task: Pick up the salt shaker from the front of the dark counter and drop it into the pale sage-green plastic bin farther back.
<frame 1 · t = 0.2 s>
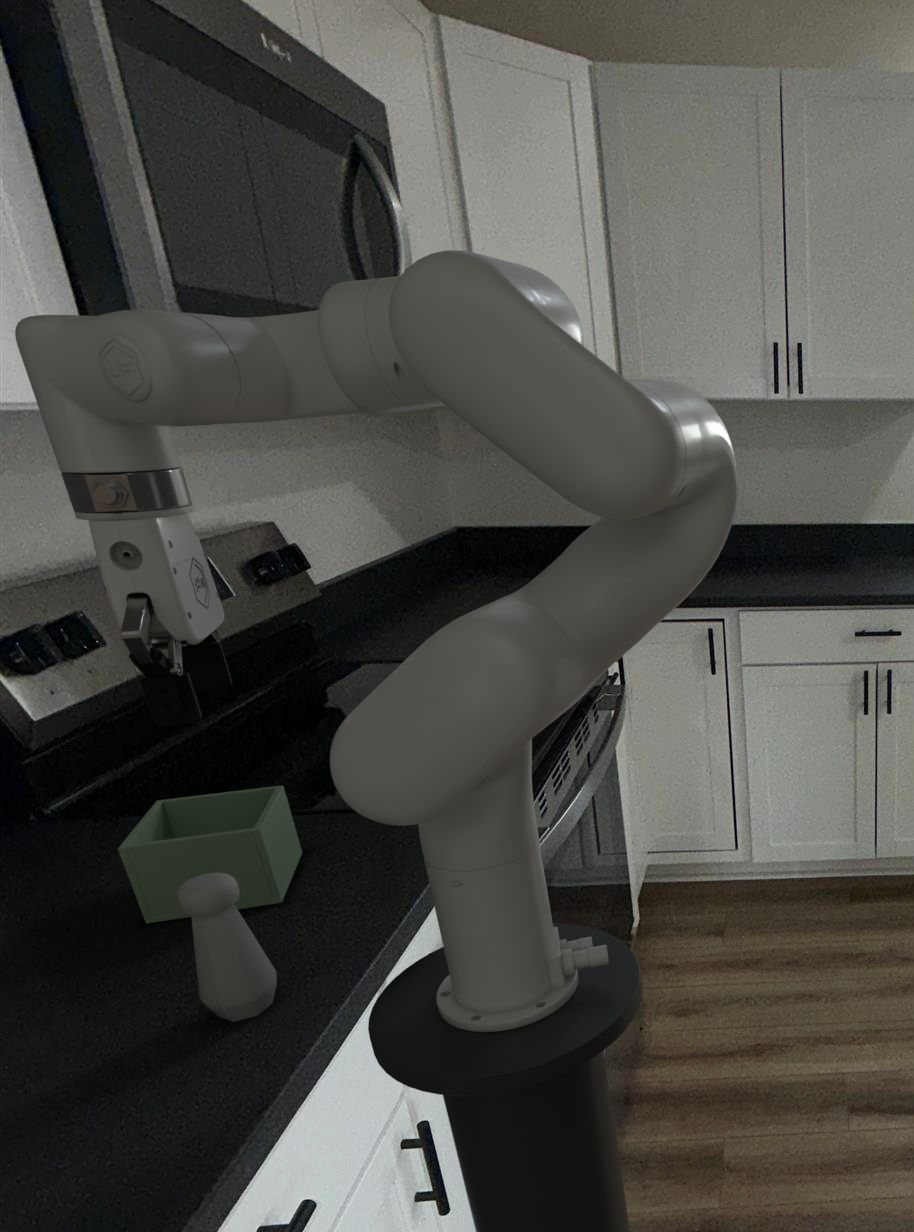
hand: (196, 705, 79), 26 cm above the counter, tool pointing down, fingers open, 9 cm apart
bin: (229, 885, 102), on the counter
salt shaker: (247, 1008, 83), on the counter
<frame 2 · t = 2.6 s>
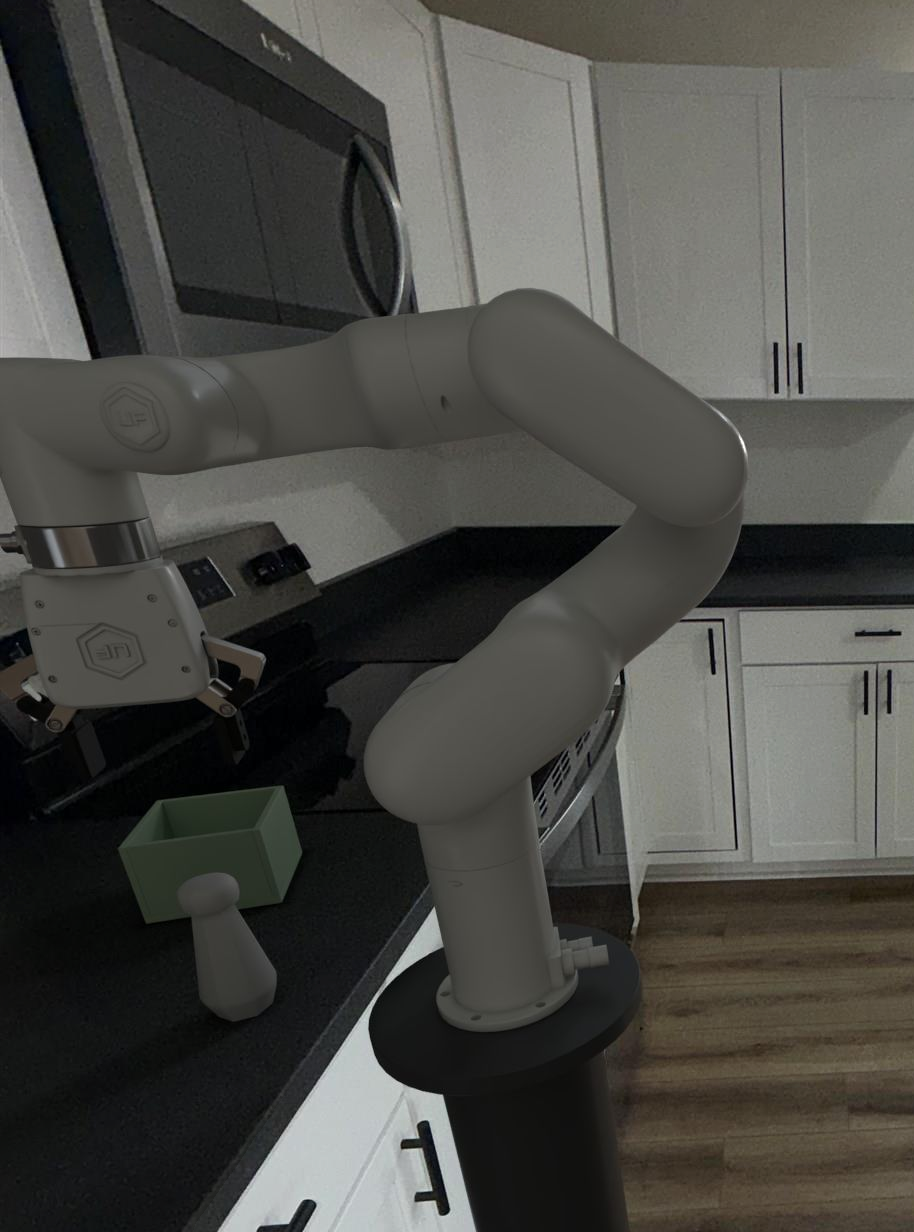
hand: (166, 766, 74), 23 cm above the counter, tool pointing down, fingers open, 9 cm apart
nothing on the counter moved.
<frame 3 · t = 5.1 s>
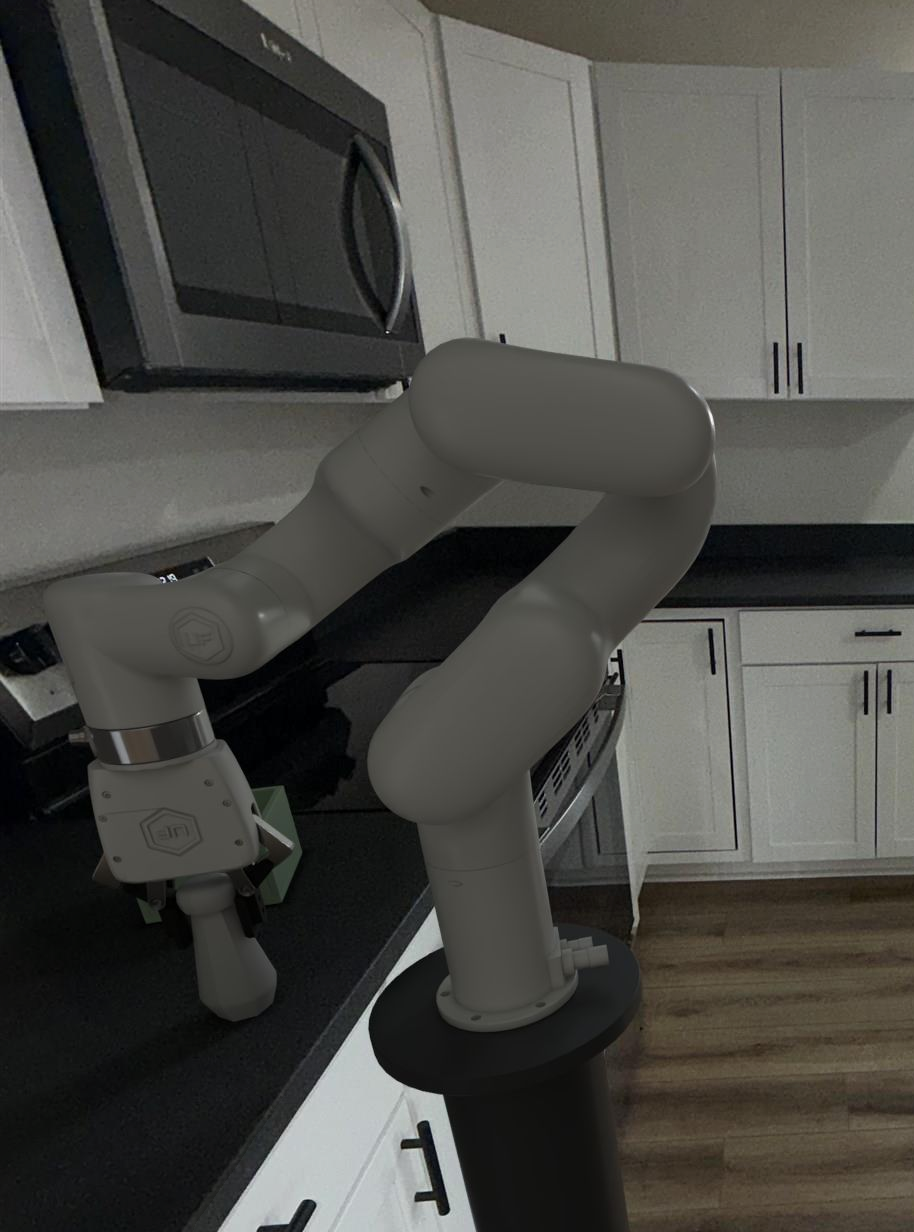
hand: (221, 933, 79), 8 cm above the counter, tool pointing down, fingers closed on salt shaker, 4 cm apart
salt shaker: (247, 1008, 83), on the counter, touching gripper
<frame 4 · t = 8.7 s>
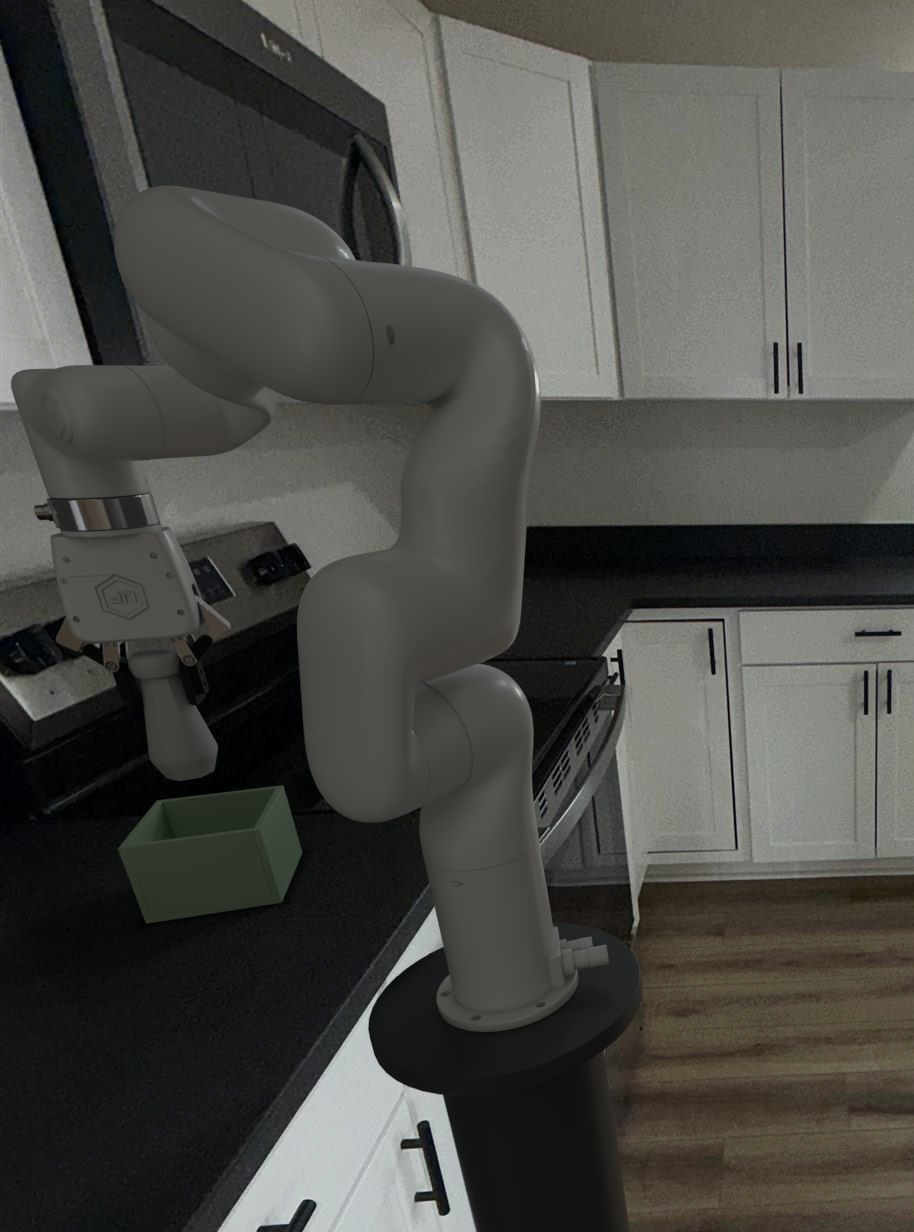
hand: (168, 702, 93), 22 cm above the counter, tool pointing down, fingers closed on salt shaker, 4 cm apart
salt shaker: (191, 774, 96), point 14 cm above the counter, touching gripper
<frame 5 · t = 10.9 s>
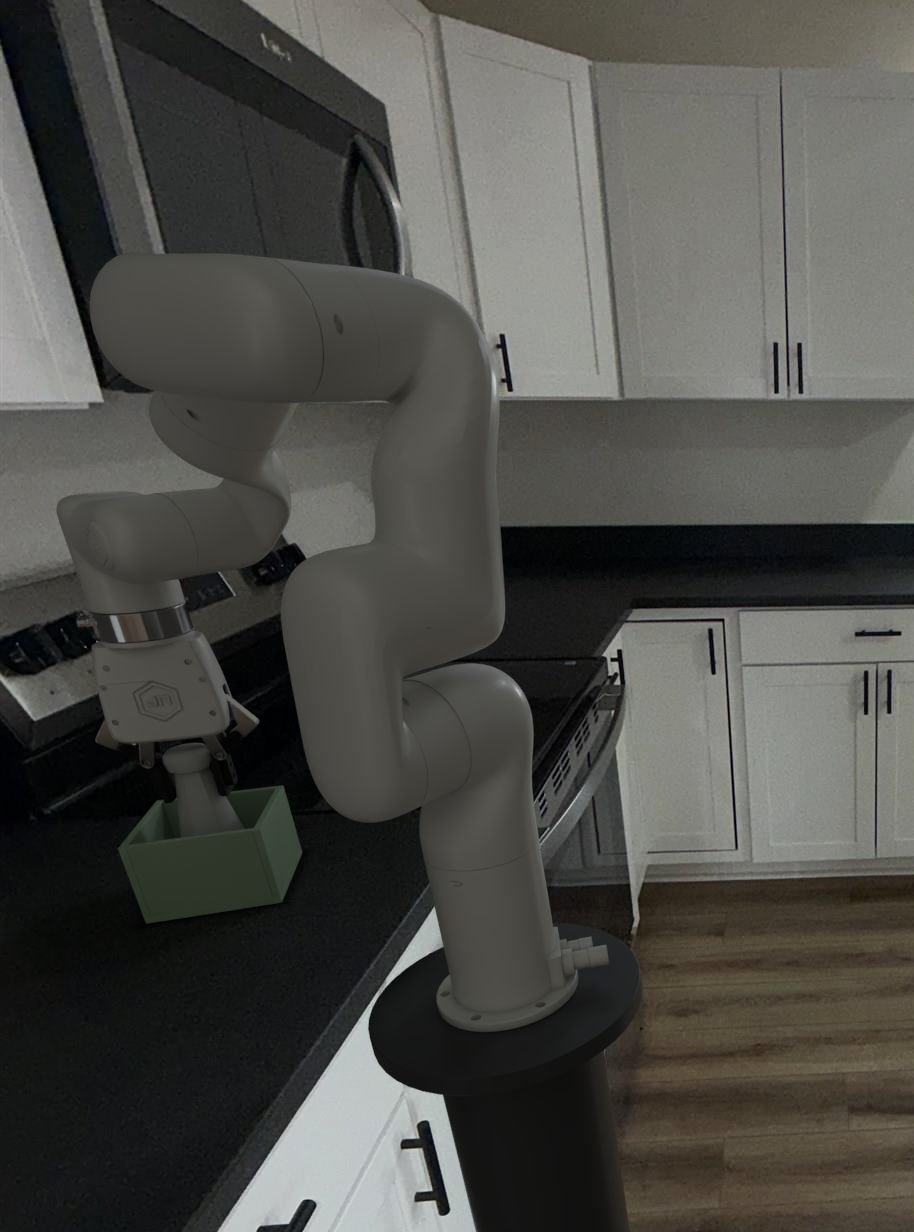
hand: (200, 793, 98), 11 cm above the counter, tool pointing down, fingers closed on salt shaker, 4 cm apart
salt shaker: (221, 859, 101), point 3 cm above the counter, touching gripper
when the fingers open (9 cm above the counter, at t = 12.2 s): salt shaker stays where it is, resting on bin.
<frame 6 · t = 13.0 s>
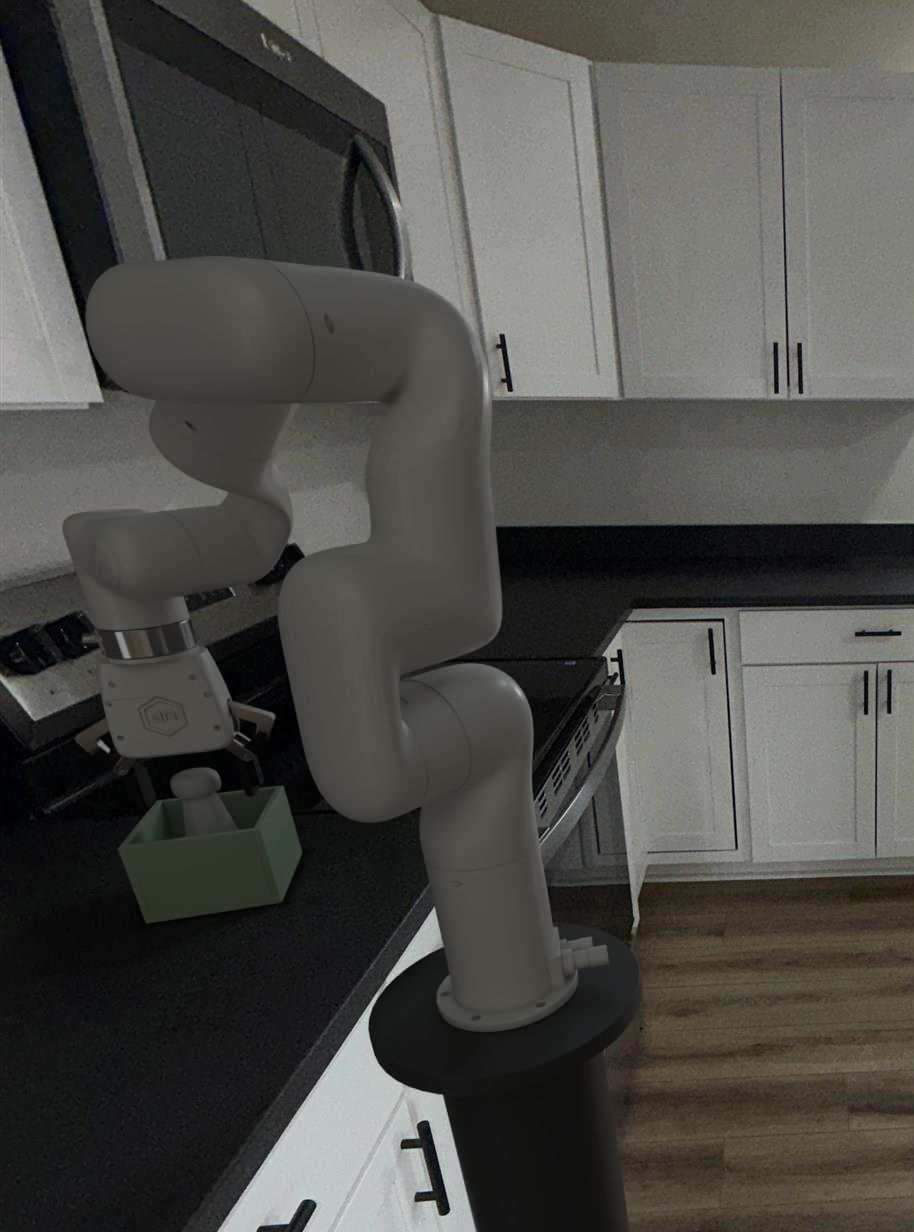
hand: (201, 798, 98), 11 cm above the counter, tool pointing down, fingers open, 9 cm apart
salt shaker: (228, 881, 102), point 1 cm above the counter, touching bin
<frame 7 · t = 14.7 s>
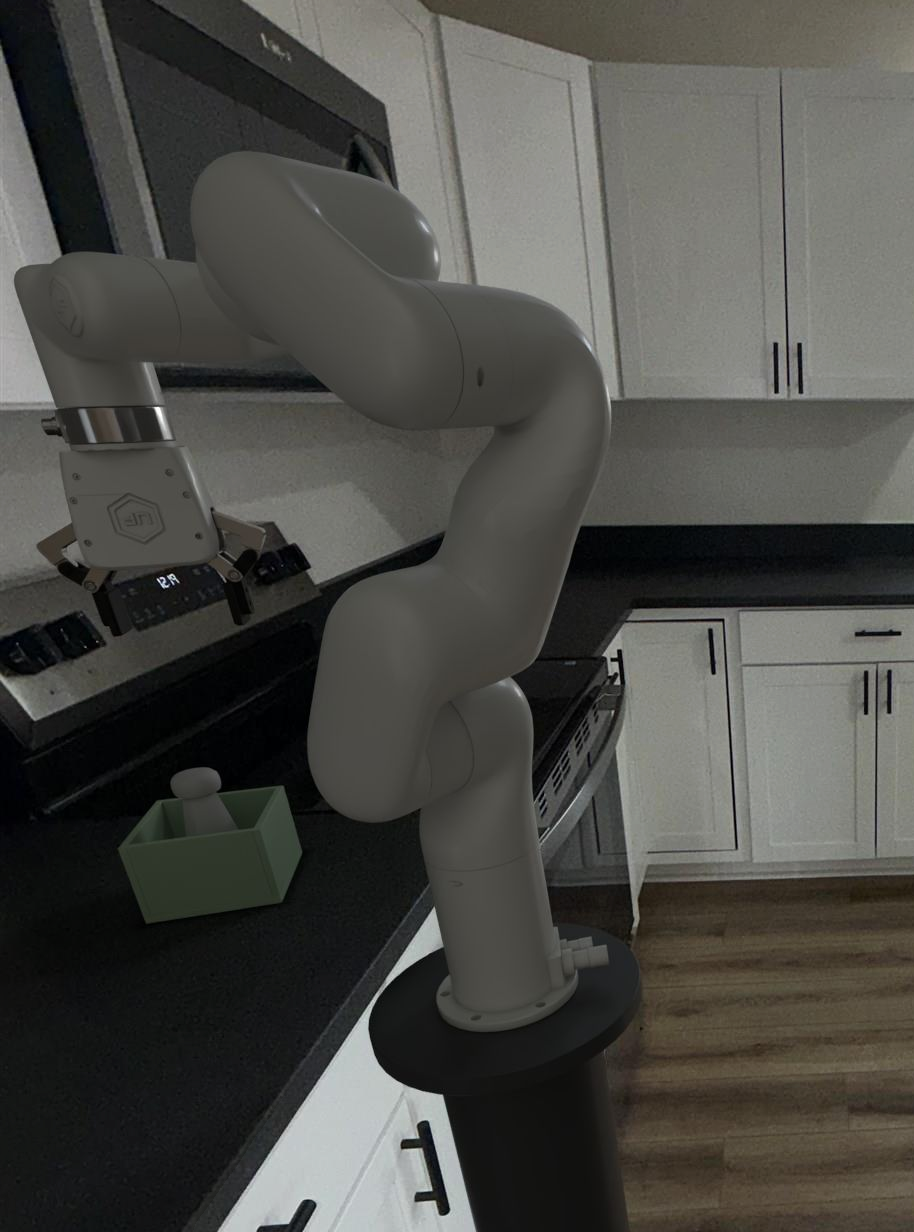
hand: (184, 627, 86), 30 cm above the counter, tool pointing down, fingers open, 9 cm apart
nothing on the counter moved.
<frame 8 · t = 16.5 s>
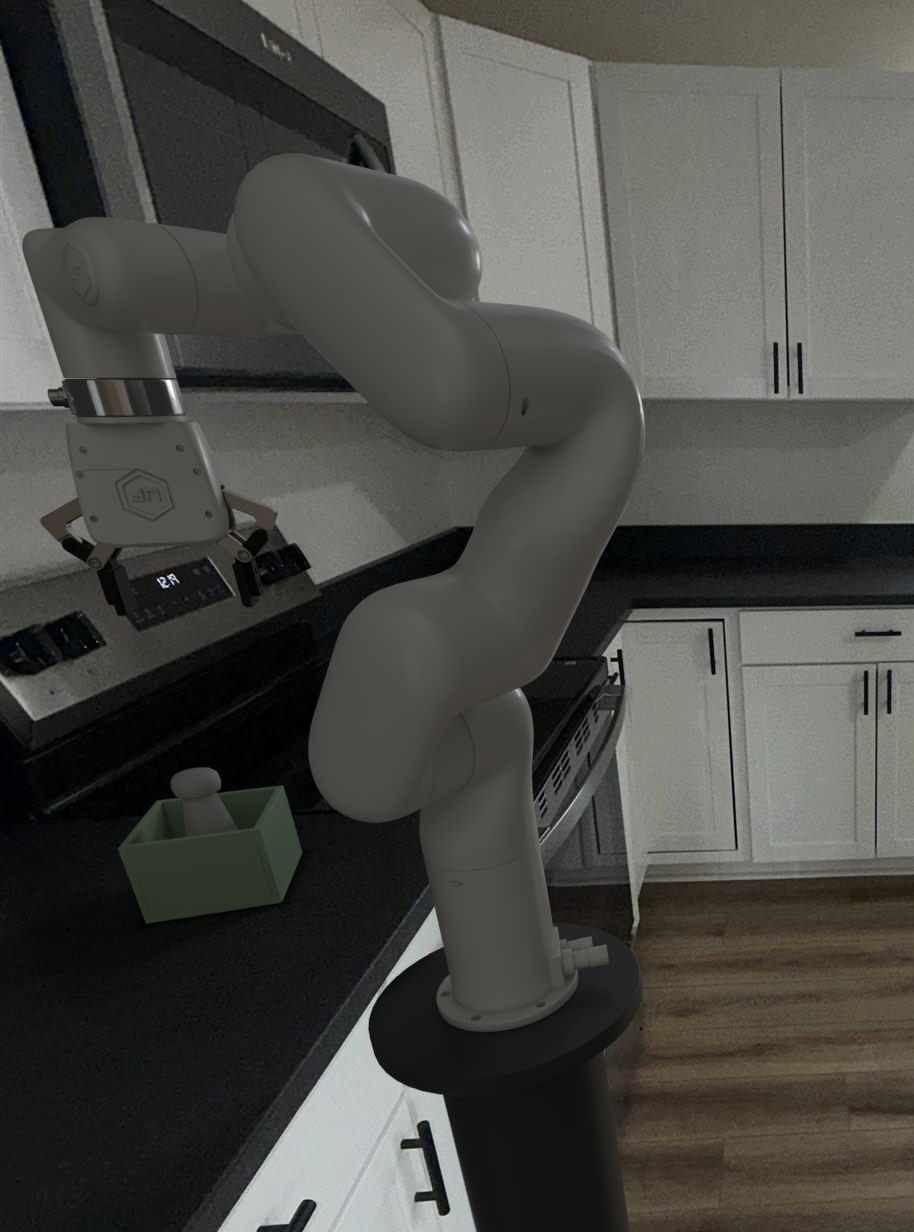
hand: (191, 608, 84), 32 cm above the counter, tool pointing down, fingers open, 9 cm apart
nothing on the counter moved.
at the end: salt shaker inside the target area in the bin (0.1 cm from its centre), point 0.6 cm above the bin's base; the gripper is holding nothing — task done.
